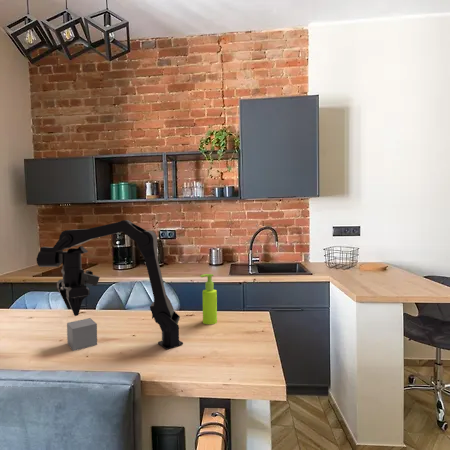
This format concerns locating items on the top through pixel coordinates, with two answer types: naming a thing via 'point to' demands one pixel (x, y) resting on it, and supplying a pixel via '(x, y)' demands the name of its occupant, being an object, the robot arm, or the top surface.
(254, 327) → the top surface
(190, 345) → the top surface
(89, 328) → the gray rectangular platform
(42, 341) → the top surface
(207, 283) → the soap dispenser
